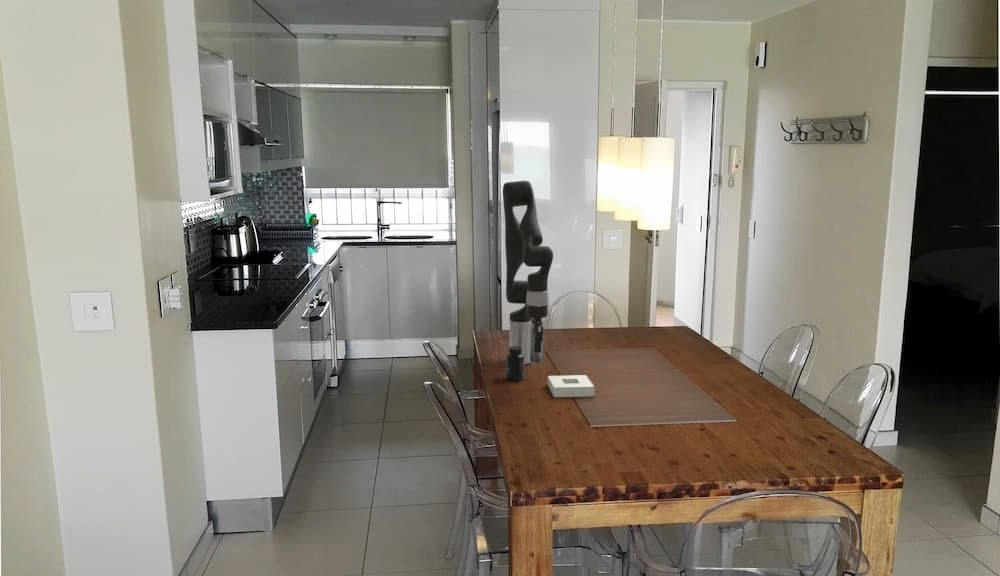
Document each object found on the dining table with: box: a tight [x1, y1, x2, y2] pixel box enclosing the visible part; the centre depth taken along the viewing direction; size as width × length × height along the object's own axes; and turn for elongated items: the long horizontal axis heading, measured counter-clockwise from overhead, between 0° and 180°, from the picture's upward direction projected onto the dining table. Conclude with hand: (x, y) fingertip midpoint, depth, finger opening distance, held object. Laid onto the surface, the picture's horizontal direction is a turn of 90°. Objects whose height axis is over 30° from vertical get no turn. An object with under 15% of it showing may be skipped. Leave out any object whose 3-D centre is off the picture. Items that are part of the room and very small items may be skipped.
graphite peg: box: [530, 327, 544, 363], centre depth 257 cm, size 4×4×12 cm
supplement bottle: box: [505, 346, 525, 382], centre depth 271 cm, size 7×7×12 cm
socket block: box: [547, 374, 595, 398], centre depth 257 cm, size 14×14×4 cm
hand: (536, 350), depth 257 cm, fingers closed on graphite peg, 4 cm apart
